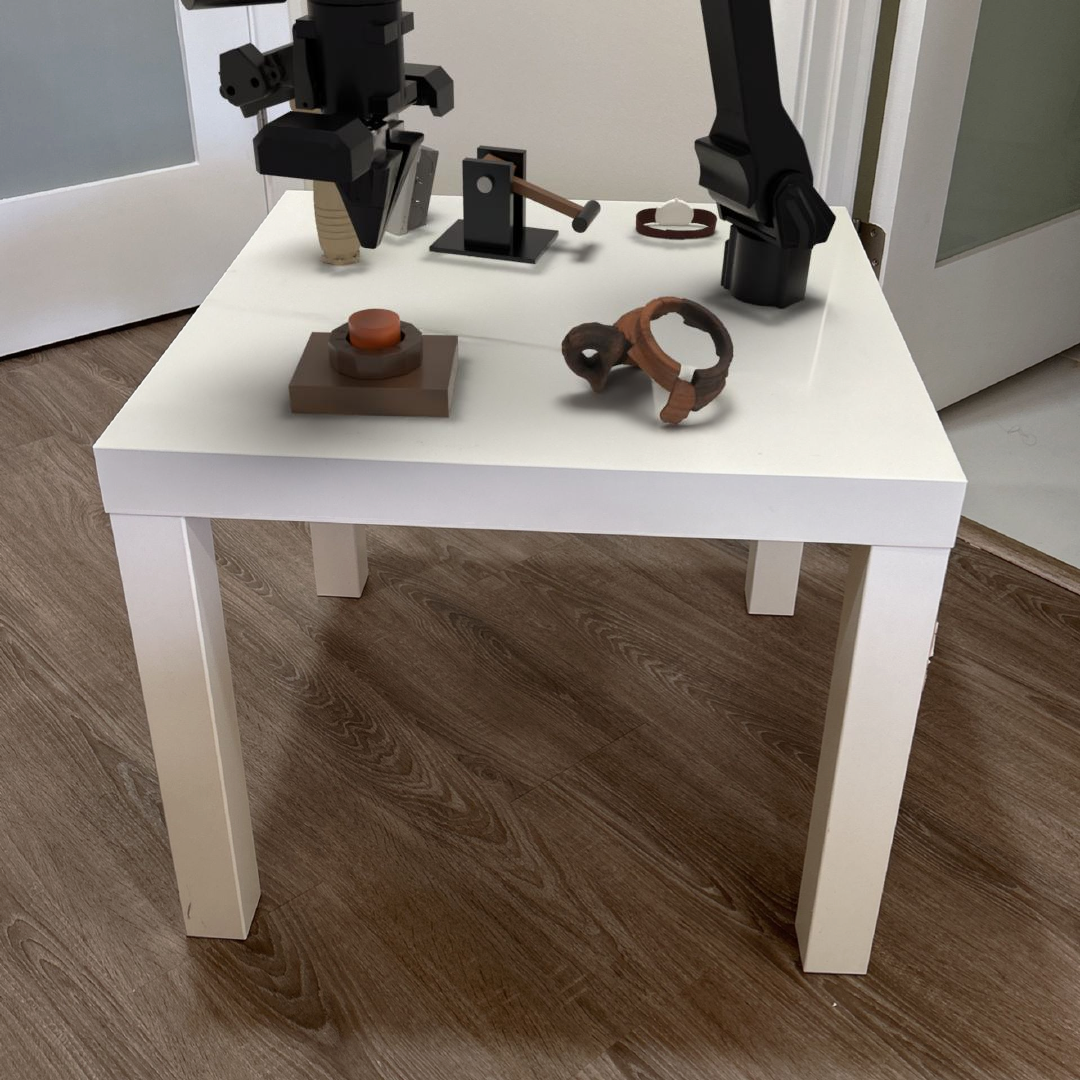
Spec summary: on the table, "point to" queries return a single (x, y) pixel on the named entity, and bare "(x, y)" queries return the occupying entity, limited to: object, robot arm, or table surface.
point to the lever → (556, 201)
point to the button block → (376, 375)
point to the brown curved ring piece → (652, 354)
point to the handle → (332, 220)
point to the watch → (675, 220)
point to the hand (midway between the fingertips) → (370, 246)
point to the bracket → (494, 212)
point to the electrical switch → (415, 193)
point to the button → (374, 329)
